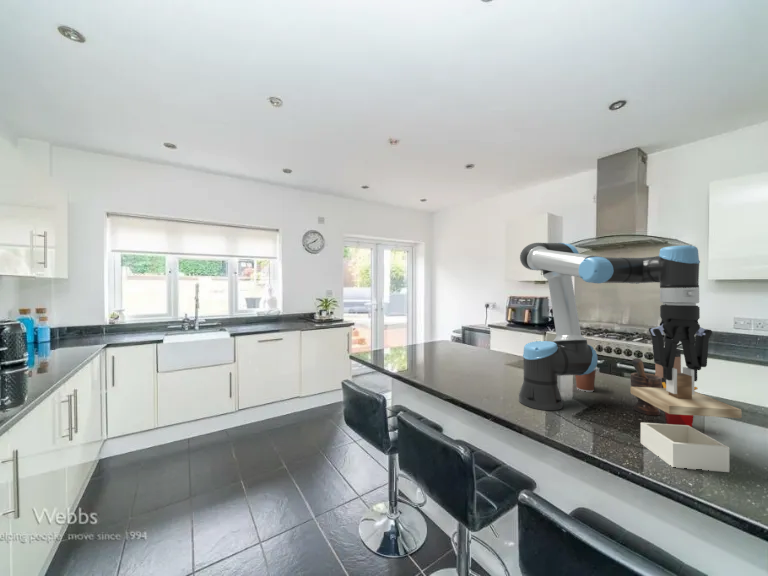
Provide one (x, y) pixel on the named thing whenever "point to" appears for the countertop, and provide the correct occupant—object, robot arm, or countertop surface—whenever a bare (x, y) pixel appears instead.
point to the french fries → (678, 416)
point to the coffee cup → (586, 381)
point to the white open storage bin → (685, 447)
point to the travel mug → (676, 365)
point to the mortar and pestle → (644, 381)
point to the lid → (685, 400)
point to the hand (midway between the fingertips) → (680, 392)
